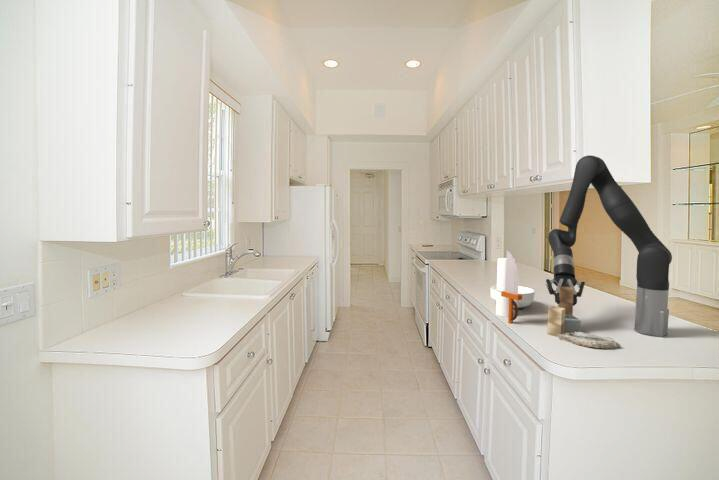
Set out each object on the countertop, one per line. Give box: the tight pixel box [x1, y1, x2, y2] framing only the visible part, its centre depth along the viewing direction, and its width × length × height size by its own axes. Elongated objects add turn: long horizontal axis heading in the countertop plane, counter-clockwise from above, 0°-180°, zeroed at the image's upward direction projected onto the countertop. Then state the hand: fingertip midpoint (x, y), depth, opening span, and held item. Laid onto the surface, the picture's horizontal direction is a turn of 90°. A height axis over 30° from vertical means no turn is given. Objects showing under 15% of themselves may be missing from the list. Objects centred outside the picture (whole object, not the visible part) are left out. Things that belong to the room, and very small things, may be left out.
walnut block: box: [557, 286, 574, 316], centre depth 137 cm, size 4×4×10 cm
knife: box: [501, 250, 522, 324], centre depth 145 cm, size 8×2×30 cm, turn 27°
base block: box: [564, 314, 582, 333], centre depth 138 cm, size 8×8×5 cm
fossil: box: [557, 331, 621, 350], centre depth 123 cm, size 18×10×3 cm, turn 53°
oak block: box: [546, 305, 565, 338], centre depth 132 cm, size 4×4×10 cm
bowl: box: [490, 284, 535, 309], centre depth 172 cm, size 20×20×8 cm
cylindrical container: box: [495, 257, 516, 318], centre depth 157 cm, size 7×7×25 cm
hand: (566, 303), depth 136 cm, fingers open, 4 cm apart
